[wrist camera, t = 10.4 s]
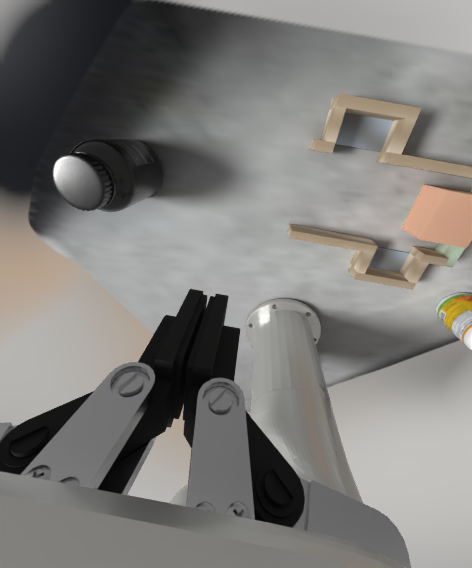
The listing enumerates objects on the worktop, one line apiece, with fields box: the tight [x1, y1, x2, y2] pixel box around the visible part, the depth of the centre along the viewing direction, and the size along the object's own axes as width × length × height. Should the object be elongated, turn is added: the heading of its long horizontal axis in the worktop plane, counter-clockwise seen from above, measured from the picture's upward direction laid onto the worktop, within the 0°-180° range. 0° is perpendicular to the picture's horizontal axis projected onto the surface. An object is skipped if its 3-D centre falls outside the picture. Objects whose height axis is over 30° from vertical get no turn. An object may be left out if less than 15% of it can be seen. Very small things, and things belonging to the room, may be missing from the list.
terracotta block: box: [402, 185, 472, 248], centre depth 29 cm, size 6×6×4 cm
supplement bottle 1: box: [52, 139, 162, 212], centre depth 27 cm, size 7×7×12 cm
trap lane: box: [288, 94, 472, 290], centre depth 30 cm, size 19×21×3 cm
